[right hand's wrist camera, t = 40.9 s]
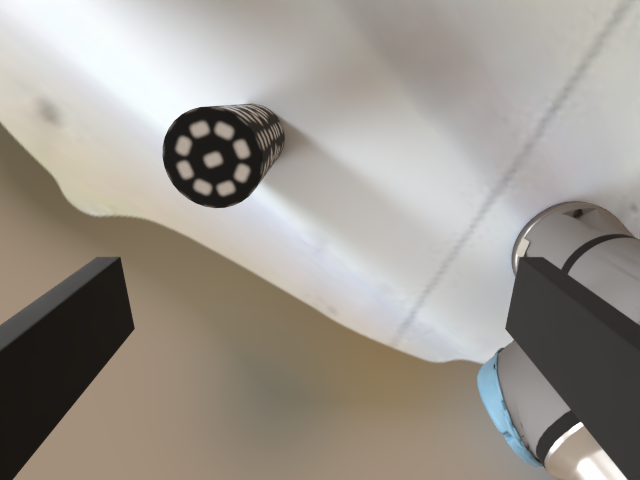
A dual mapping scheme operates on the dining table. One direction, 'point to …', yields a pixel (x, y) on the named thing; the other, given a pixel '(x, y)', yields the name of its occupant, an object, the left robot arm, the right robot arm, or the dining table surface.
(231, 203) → the black white spotted cylinder
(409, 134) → the dining table surface
